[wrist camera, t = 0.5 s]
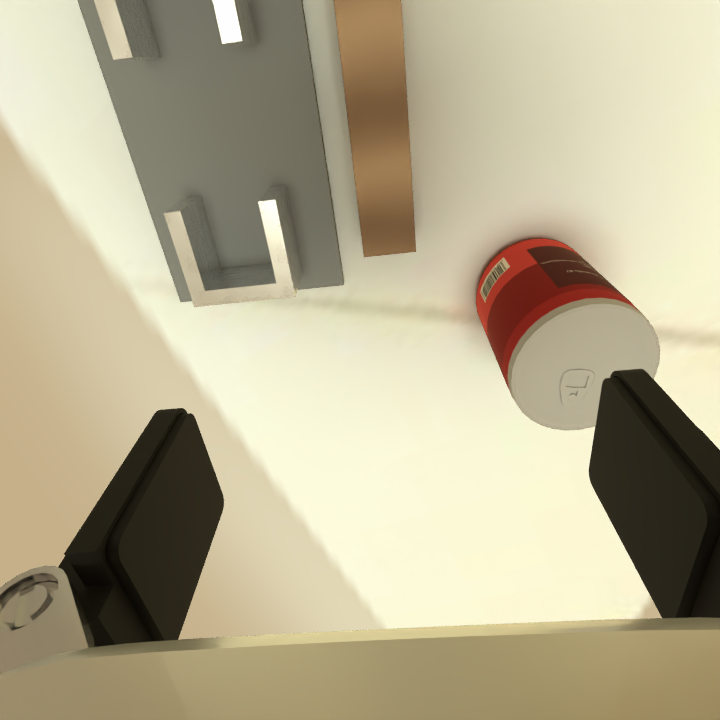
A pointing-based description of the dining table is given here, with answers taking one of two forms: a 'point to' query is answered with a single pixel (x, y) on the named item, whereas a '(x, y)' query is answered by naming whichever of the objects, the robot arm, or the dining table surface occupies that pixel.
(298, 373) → the dining table surface
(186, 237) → the endcap
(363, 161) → the slat
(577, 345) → the canned food
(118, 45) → the endcap
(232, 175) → the mat
